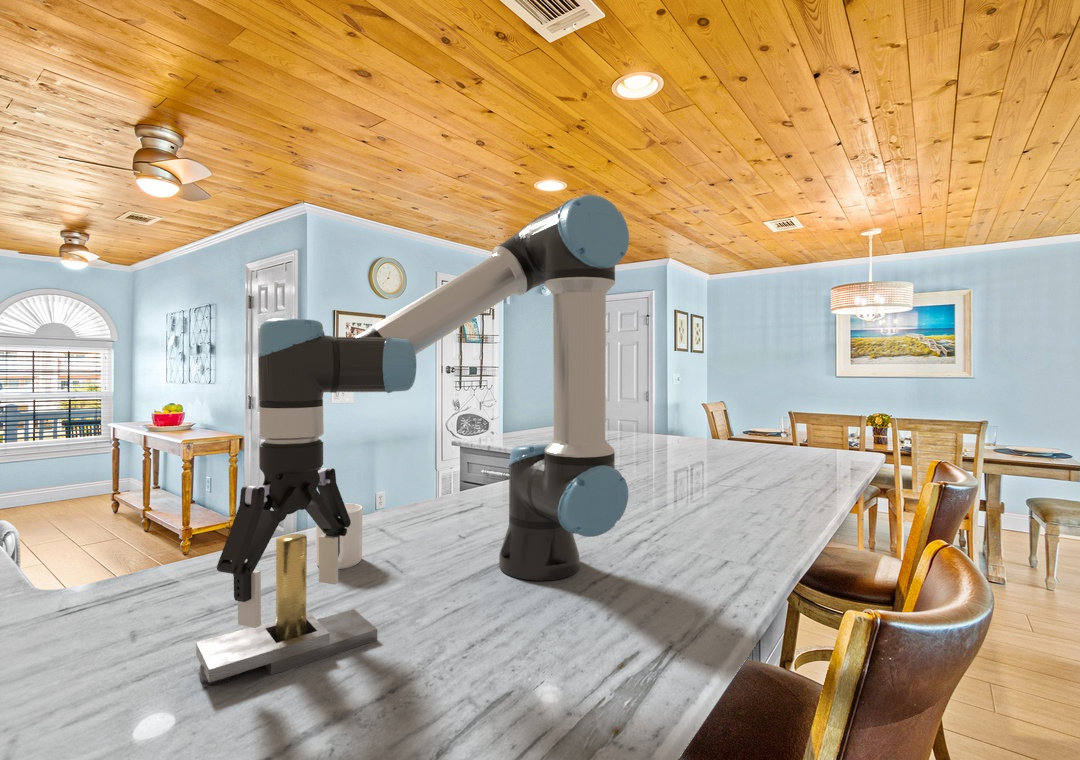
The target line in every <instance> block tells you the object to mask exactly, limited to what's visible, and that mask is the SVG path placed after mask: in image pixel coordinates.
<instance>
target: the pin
mask: <svg viewBox="0 0 1080 760" xmlns="http://www.w3.org/2000/svg"><path fill="white" fill-rule="evenodd" d="M307 537H308V536H307V535H305V534H303V533H292V534H285V535H281V536H279V537H277V538H276V541H275V547H276V548H275V571H276V572H275V621H276V643H279V642H282V641H286V640H289V639H292V638H296V637H299V636H302V635H306V612H307V562H308V561H307V560H308V559H307V554H308V553H307V549H308V548H307V546H308V544H307V542H308V541H307Z"/></svg>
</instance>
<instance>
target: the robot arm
mask: <svg viewBox="0 0 1080 760" xmlns="http://www.w3.org/2000/svg"><path fill="white" fill-rule="evenodd" d="M629 233H630V231H629V227H628V224H627V221H626V219H625V218H624V216H623V213H622V212H621V211H619V210H618V209H617V207H616V205H615V204H613V202H612V201H610V200H609V199H606V198H605V197H602V196H601V195H600V196H599V195H597V194H585V195H581V196H579V197H573V198H570V199H569V200H567V201H565V202H564V203H563V204H561V205H560V206H558V207H556V208H553V209H552V210H549V211H547V212H546V213H545V212H544V213H543V214H541V215H539V216H538V217H535V218H534V219H533V220H532V221H530V222H529V223H527V224H526V225H524V226H523V228H521V229H520V230H519V231H518V232H516V233H515V234H514V235H512V236H511V237H509V238H508V239H507V240H505V241H503V242H502V243H501V244H499V245H497V246H494V248H493V249H492V250H491V256H489V257H488V258H486V259H484V260H483V261H481V262H479V263H478V264H475V265H474V266H473V267H471V268H469V269H468V270H466V271H464V272H462V273H460V274H459V275H457V276H455V277H453V278H452V279H450V280H448V281H447V282H445V283H444V284H442V285H440V286H438V287H437V288H435V289H433V290H431V291H430V292H428V293H427V294H425V295H423V296H422V297H420V298H417V299H416V300H415V301H413V302H411V303H409V304H408V305H406V306H404V307H403V308H401V309H399V310H397V311H396V312H394V313H393V314H391V315H389V316H387V317H386V318H384V319H382V320H380V321H379V322H377V323H376V324H374V325H372V326H371V327H369V328H368V329H366V330H363V331H362V332H360V333H358V334H357V335H355V336H335V335H333V336H331V335H327V334H325V331H324V327H323V323H322V322H321V321H319V320H315V319H302V318H282V317H281V318H270V319H267V320H265V321H263V323H262V324H261V325H260V327H259V339H258V340H259V342H258V389H259V390H258V393H259V394H258V395H259V437H261V438H262V439H264V441H262V442H260V444H259V447H258V449H259V452H258V453H259V457H258V458H259V470H260V472H262V474H263V477H264V479H263V482H262V484H261V485H257V486H255V485H246V484H245V485H243V486H242V487H241V488H240V496H239V497H240V498H239V506H238V509H237V511H236V514H235V516H234V519H233V522H232V525H231V527H230V530H229V532H228V535H227V538H226V541H225V543H224V545H223V549H222V551H221V554H220V556H219V560H218V562H217V564H216V570H217V572H219V573H224V574H225V573H226V574H231V575H233V598H234V600H235V601H236V602H237V624H238V625H239V626H243V627H248V628H250V627H252V628H257V627H259V626H261V624H262V615H261V614H262V606H261V603H262V602H261V601H262V600H261V599H262V597H261V595H262V593H261V592H262V591H261V590H262V589H261V587H262V585H261V583H262V580H261V579H262V577H261V574H262V573H261V570H256V567H257V566H258V564H259V562H260V560H261V558H262V556H263V554H264V552H265V551H266V549H267V547H268V545H269V544H270V541H271V539H272V538H273V536H274V534H275V532H276V530H277V528H278V526H279V525H280V523H281V522H283V521H285V519H286V518H287V516H288V515H291V514H294V513H296V512H297V511H299V510H300V511H304V510H305V511H306V512H307V514H308V515H309V516H310V517H311V519H312V520H313V521H314V523H315V525H316V524H317V525H318V526H319V527H320V529H321V530H322V531H323V533H325V534H326V536H325V535H322V536H319V566H318V583H324V584H329V585H336V584H338V583H339V569H338V556H339V554H340V536H345V535H346V533H347V528H345V527H349V526H350V524H351V521H350V518H349V515H348V513H347V510H346V507H345V505H344V500H343V498H342V495H341V492H340V488H339V487H338V484H337V477H336V469H335V468H334V467H333V468H331V467H323V465H324V441H322V440H321V438H319V437H322V436H323V435H324V432H325V431H324V398H323V397H324V393H387V394H390V393H393V392H394V393H395V392H407V391H409V390H410V389H411V388H412V387H413V385H414V384H415V380H416V374H417V354H419V353H420V352H422V351H424V350H425V349H427V348H429V347H431V346H432V345H433V344H435V343H436V342H438V341H440V340H441V339H443V338H445V337H446V336H449V334H451V333H452V332H454V331H456V330H457V329H459V328H460V327H462V326H463V325H465V324H467V323H469V322H470V321H471V320H473V319H476V317H478V316H480V315H482V314H483V313H484V312H486V311H488V310H489V309H491V308H492V307H494V306H496V305H498V304H499V303H501V302H502V301H503V300H506V299H507V298H508V297H511V296H512V295H517V296H522V295H524V294H526V293H528V292H529V291H530V290H532V289H535V288H537V287H539V286H542V285H544V287H546V289H548V290H549V292H551V294H552V296H553V297H552V300H553V302H552V304H553V306H552V307H553V308H552V309H553V310H552V311H553V313H552V317H553V319H552V320H553V321H552V322H553V323H552V324H553V326H552V327H553V331H552V332H553V335H552V336H553V338H552V339H553V342H552V343H553V345H552V346H553V348H552V349H553V353H552V354H553V437H552V441H551V442H550V443H548V444H547V443H546V444H545V443H544V444H531V445H530V444H529V445H528V444H527V445H519V446H515V447H513V448H512V449H511V450H510V455H509V463H508V468H509V470H508V473H509V475H508V476H509V477H508V479H509V480H508V481H509V485H508V486H509V487H508V490H509V491H508V493H509V494H508V495H509V496H508V497H509V498H508V501H509V502H508V503H509V504H508V515H509V516H508V528H507V531H506V533H505V537H504V538H503V542H502V545H501V548H500V552H499V555H498V556H499V557H498V558H499V559H498V560H499V563H498V566H499V569H500V571H502V572H503V573H504V574H506V575H507V576H510V577H513V578H516V579H519V580H520V579H521V580H525V581H542V582H543V581H555V580H560V579H564V578H568V577H571V576H572V575H575V574H576V573H577V572H578V571H579V570H580V553H579V550H578V547H577V546H578V545H577V542H576V539H575V536H574V534H577V535H578V536H583V537H587V538H590V537H599V536H601V535H603V534H604V535H605V534H606V533H607V532H609V531H610V530H612V529H613V528H614V527H615V526H616V524H617V523H618V522H619V521H620V520H621V519H622V517H623V515H624V514H625V511H626V509H627V507H628V501H629V487H628V482H627V481H626V479H625V478H624V477H623V476H622V473H621V472H620V471H619V470H618V469H616V468H615V466H616V465H615V458H616V457H615V454H616V453H615V448H614V447H613V446H612V445H611V444H610V443H609V442H608V441H607V439H606V372H607V371H606V369H607V368H606V363H607V362H606V357H607V356H606V355H607V354H606V337H607V336H606V331H607V330H606V325H607V324H606V317H607V316H606V315H607V314H606V312H607V311H606V310H607V309H606V308H607V307H606V301H607V300H606V299H607V298H606V295H607V294H608V292H609V291H610V290H611V289H612V288H613V287H614V285H615V284H616V266H617V265H618V264H619V263H620V262H621V261H622V259H623V257H624V256H625V255H626V254H627V252H628V249H629V245H630V244H629V243H630V234H629ZM271 509H272V510H271ZM339 517H340V518H339Z"/></svg>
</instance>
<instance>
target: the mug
mask: <svg viewBox="0 0 1080 760" xmlns="http://www.w3.org/2000/svg"><path fill="white" fill-rule="evenodd" d="M344 505H345V507H346V510H347V513H348V515H349V518H350V521H351V524H350V526H349V527H345V528H347V533H346V535H345V536H340V554H339V556H338V570H344V569H348V568H352V567H355V566H356V565H358V564H359V563H360V562H361V560H362V557H363V506H362V505H360V504H356V503H344ZM339 518H340V517H339ZM322 535H325V536H326V534H325V533H323V531H322V530H321V529H320V527H319V526H318V525H317V524H316V523H315V563H316V565H317V566H318V567H319V536H322Z"/></svg>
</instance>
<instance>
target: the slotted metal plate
mask: <svg viewBox="0 0 1080 760" xmlns="http://www.w3.org/2000/svg"><path fill="white" fill-rule="evenodd" d="M376 641H378V629H377V628H376V627H375V626H374V625H373V624H372V623H371V622H370V621H368V619H366V618H365V617H364V616H362V614H360V613H359V612H358V611H357V610H355V608H354V609H350V610H346V611H343V612H339V613H336V614H332V615H329V616H325V617H322V618H319V619H318V618H317V619H316V617H315V616H314V615H313V614H311V613H310V611H306V635H302V636H299V637H296V638H292V639H289V640H286V641H282V642H279V643H276V620H273V621H269V622H266V623H261V626H259V627H257V628H252V627H248V628H246V627H245V628H244V629H239V630H236V631H231V632H228V633H225V634H222V635H217V636H213V637H211V638H207V639H203V640H199V641H196V642H195V643H196V644H195V645H196V646H195V652H196V653H195V655H196V657H197V659H198V661H199V663H200V667H199V677H200V678H199V680H200V683H202V684H203V685H208V686H215V685H221V684H225V683H228V682H230V681H232V680H234V679H236V678H238V677H239V676H240V675H241V674H242V673H244V672H248V671H251V670H255V669H257V668H259V667H263V666H264V667H265V669H266V670H267V672H268V673H269V675H270V676H273V675H277V674H279V673H282V672H285V671H288V670H292V669H294V668H297V667H300V666H301V667H302V666H304V665H306V664H309V663H313V662H315V661H318V660H321V659H324V658H327V657H331V656H333V655H337V654H339V653H342V652H345V651H349V650H352V649H355V648H357V647H360V646H363V645H367V644H370V643H372V642H376Z"/></svg>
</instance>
